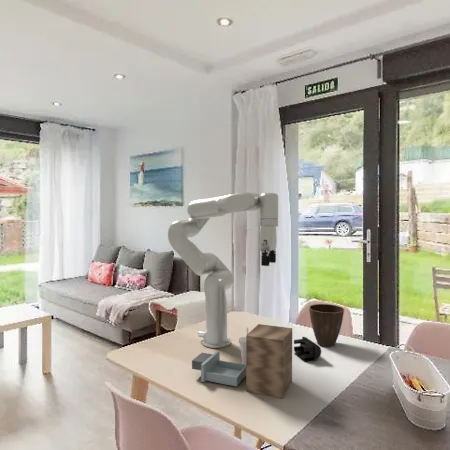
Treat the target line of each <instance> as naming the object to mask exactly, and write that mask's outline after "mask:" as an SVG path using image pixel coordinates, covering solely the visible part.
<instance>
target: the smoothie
mask: <svg viewBox="0 0 450 450" xmlns="http://www.w3.org/2000/svg"><path fill="white" fill-rule="evenodd" d="M248 333H249V327H246V335H247V334H248ZM238 343H239V349H240V356H241V364H244V365H246V336H243V337H239V338H238Z"/></svg>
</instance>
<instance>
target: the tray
mask: <svg viewBox="0 0 450 450" xmlns="http://www.w3.org/2000/svg"><path fill="white" fill-rule="evenodd" d="M220 353H221V352H220V350H216V351H215V352H213V353H207V352H201V353H199V354H198V355H197V356H195V358H193V359H192V360H191V369H192V370H197V371H200V382H202V383H205V382H206V381H207V382H212V383H217V384H221V385H227V386H231V387H238V386H239V385H240V383H241V382H242V381H243V379H245V377H246V365H244V364H242V363H238V362H233V361H225V360H220V359H221V358H220V357H221V356H220V355H221V354H220Z"/></svg>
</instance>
